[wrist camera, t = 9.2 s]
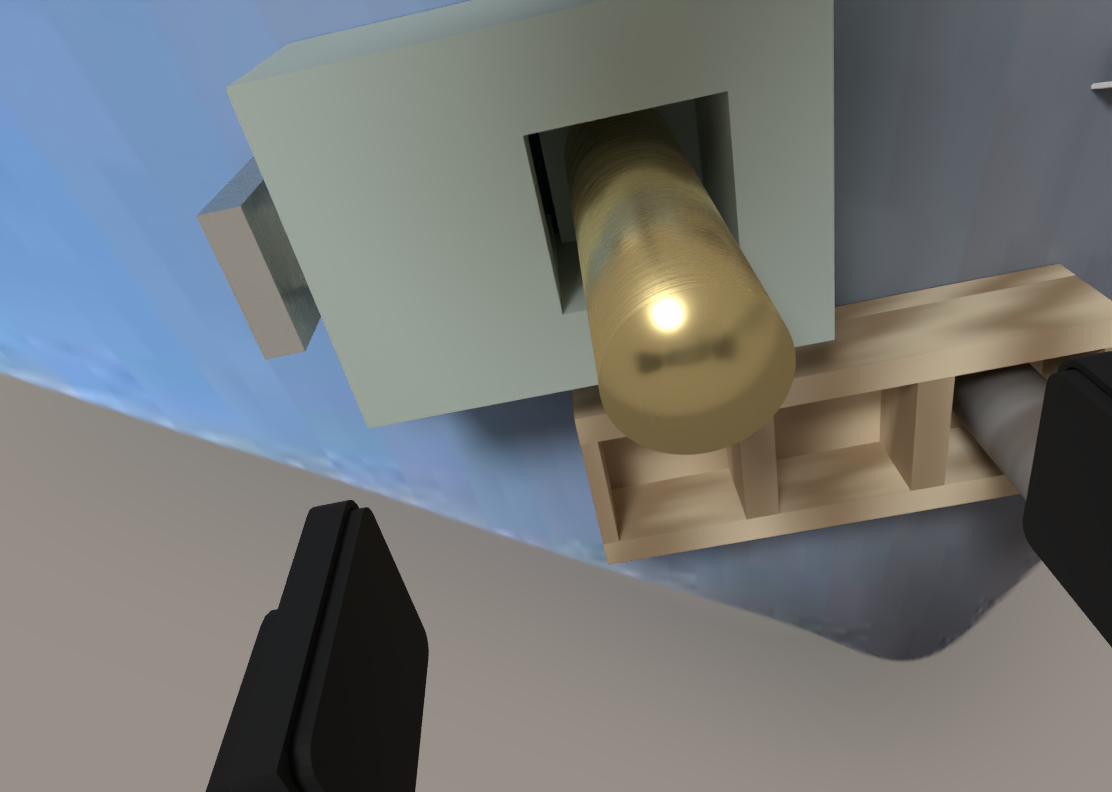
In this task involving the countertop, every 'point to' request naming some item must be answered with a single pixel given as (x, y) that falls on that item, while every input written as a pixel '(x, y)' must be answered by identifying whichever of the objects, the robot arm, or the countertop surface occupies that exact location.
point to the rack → (862, 420)
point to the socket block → (529, 176)
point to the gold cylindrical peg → (669, 294)
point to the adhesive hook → (1102, 85)
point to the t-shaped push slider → (260, 264)
